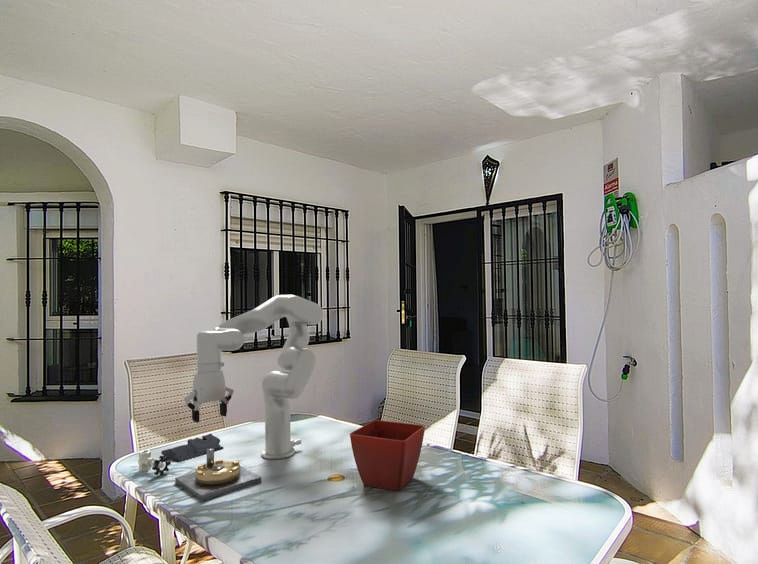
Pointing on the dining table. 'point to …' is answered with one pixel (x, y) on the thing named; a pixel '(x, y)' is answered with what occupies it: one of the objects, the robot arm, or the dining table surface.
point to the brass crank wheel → (217, 471)
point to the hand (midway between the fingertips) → (210, 418)
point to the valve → (152, 463)
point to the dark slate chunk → (193, 448)
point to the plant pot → (387, 453)
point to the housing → (212, 491)
